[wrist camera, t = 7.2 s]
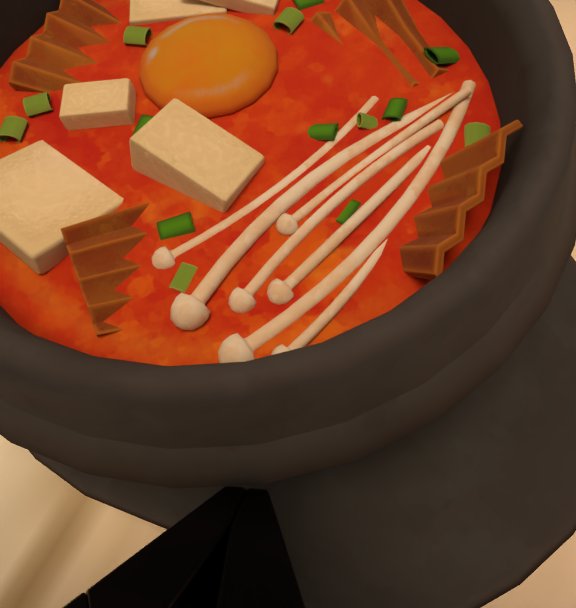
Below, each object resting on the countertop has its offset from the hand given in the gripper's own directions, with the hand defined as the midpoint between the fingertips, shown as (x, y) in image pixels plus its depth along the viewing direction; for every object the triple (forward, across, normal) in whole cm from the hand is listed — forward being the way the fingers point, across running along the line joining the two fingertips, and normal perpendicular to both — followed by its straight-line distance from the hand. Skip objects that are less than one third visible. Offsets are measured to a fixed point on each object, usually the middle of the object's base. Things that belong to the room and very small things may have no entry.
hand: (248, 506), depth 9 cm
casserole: (+10, -2, +2) cm, 11 cm away
